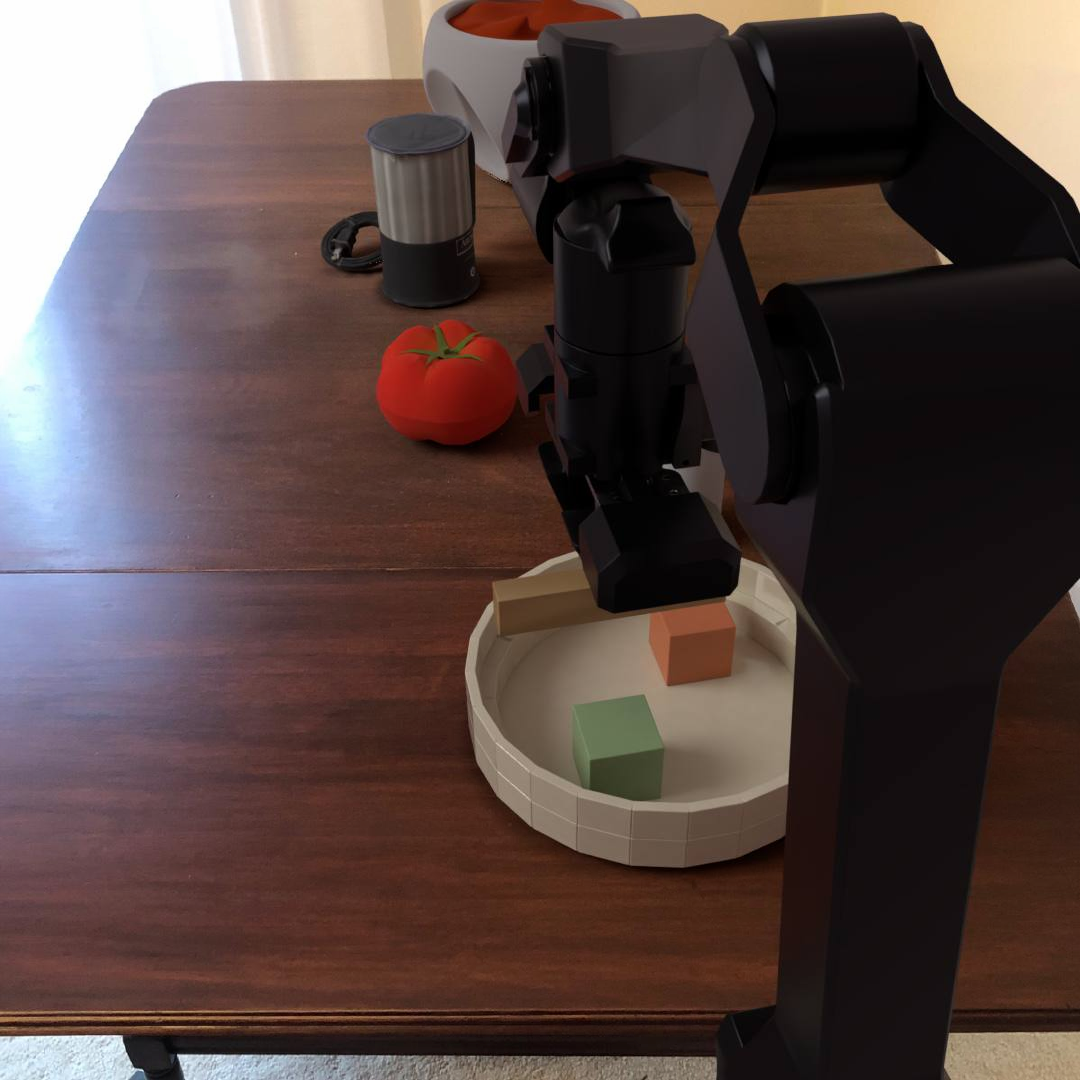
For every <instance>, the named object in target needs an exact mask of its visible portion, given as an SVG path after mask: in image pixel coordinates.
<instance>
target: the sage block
mask: <svg viewBox="0 0 1080 1080" xmlns="http://www.w3.org/2000/svg"><path fill="white" fill-rule="evenodd" d="M573 759H574V762H575V765H576V769H577V772H578V775H579V779H580V782H581V785H582V788H583V789H587V790H591V791H595V792H599V793H603V794H607V795H611V796H616V797H620V798H624V799H628V800H632V801H646V800H651V799H657V798H661V791H662V776H663V762H664V745H663V742H662V740H661V737H660V734H659V732H658V729H657V726H656V724H655V721H654V719H653V716H652V713H651V711H650V708H649V705H648V703H647V700H646V697H645V695H644V694H641V695H635V696H628V697H622V698H616V699H610V700H603V701H597V702H591V703H585V704H578V705H573Z"/></svg>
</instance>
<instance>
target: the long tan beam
mask: <svg viewBox="0 0 1080 1080" xmlns="http://www.w3.org/2000/svg"><path fill="white" fill-rule="evenodd" d="M491 586H492V599H493V600H492V601H493V605H494V618H495V622H496V625H497V629H498V633H499V636H500V637H502V636H509V635H515V634H521V633H528V632H534V631H541V630H547V629H554V628H560V627H566V626H573V625H579V624H586V623H592V622H599V621H605V620H611V619H618V618H624V617H631V616H637V615H644V614H650V613H656V612H663V611H669V610H676V609H682V608H689V607H695V606H701V605H708V604H714V603H721V602H725V601H726V597H719V598H713V599H706V600H700V601H693V602H687V603H681V604H674V605H668V606H661V607H655V608H648V609H642V610H635V611H629V612H623V613H616V614H613V613H610V612H608V611H606V610H603V609H601V608H598V607H597V605H596V602H595V599H594V597H593V594H592V591H591V589H590V586H589V583H588V581H587V578H586V575H585V573H584V570H583V568H582V569H575V570H568V571H562V572H555V573H548V574H541V575H535V576H528V577H521V578H518V577H514V578H509V579H502V580H494V581H492V585H491Z"/></svg>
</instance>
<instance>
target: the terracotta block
mask: <svg viewBox="0 0 1080 1080" xmlns="http://www.w3.org/2000/svg"><path fill="white" fill-rule="evenodd" d="M735 634H736V625H735V623H734V621H733V619H732V617H731V615H730V613H729V611H728V609H727V607H726V605H725V603H724V602H721V603H714V604H708V605H701V606H695V607H689V608H682V609H676V610H669V611H663V612H656V613H650V626H649V644H650V646H651V649H652V651H653V653H654V656H655V658H656V661H657V663H658V666H659V668H660V671H661V673H662V676H663V678H664V681H665V683H666V686H671V685H678V684H684V683H690V682H696V681H703V680H709V679H715V678H722V677H728V676H731V669H732V660H733V652H734V643H735Z"/></svg>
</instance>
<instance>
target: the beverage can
mask: <svg viewBox="0 0 1080 1080" xmlns="http://www.w3.org/2000/svg"><path fill="white" fill-rule="evenodd" d="M663 468H666V469H672V470H675V471H677V472H678V473H679V474H680V475H681V476H682V478H683V480H684V482H685V484H686V486H687V488H688V490H689V491H690V493H691V492H699V493H700V494H702V495H703V496H704V497H706V498H707V499H708V500H710V501H711V502H712V503H714V504H715V505H716V506H717V508H718V509H719V511H720V513H721V514H722V509H723V497H724V488H725V487H724V486H725V476H726V472H725V469H724V467H723V464H722V461H721V457H720V454H719V453H713V452H710V451H707V450H704V449H702V450H701V462H700V466H697V467H689V468H682V469H674V468H673V466H672V464H666V465H663Z"/></svg>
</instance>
